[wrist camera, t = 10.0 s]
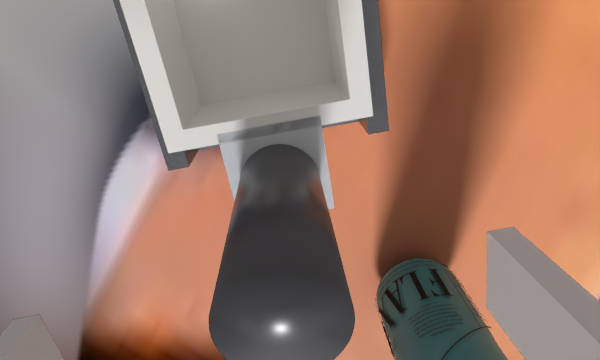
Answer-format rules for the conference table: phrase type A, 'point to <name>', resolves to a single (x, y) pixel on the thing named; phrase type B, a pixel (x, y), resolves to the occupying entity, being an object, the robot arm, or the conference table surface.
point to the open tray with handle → (264, 153)
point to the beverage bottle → (432, 315)
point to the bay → (369, 124)
